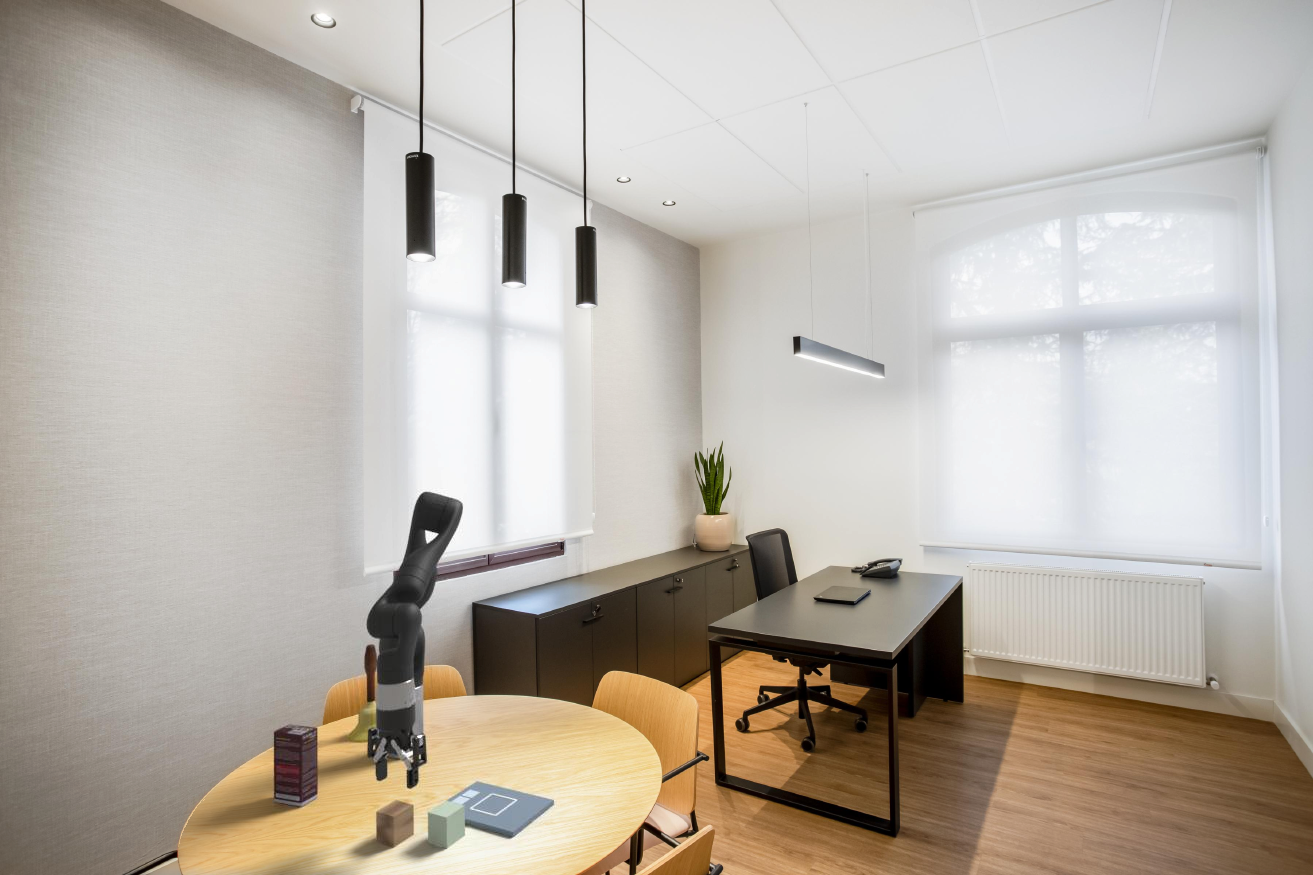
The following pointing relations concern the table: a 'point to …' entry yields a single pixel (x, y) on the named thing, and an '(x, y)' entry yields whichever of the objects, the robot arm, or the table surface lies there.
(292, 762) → the supplement box
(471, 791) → the board
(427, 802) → the table surface
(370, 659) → the handbell
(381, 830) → the walnut block
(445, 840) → the sage block
